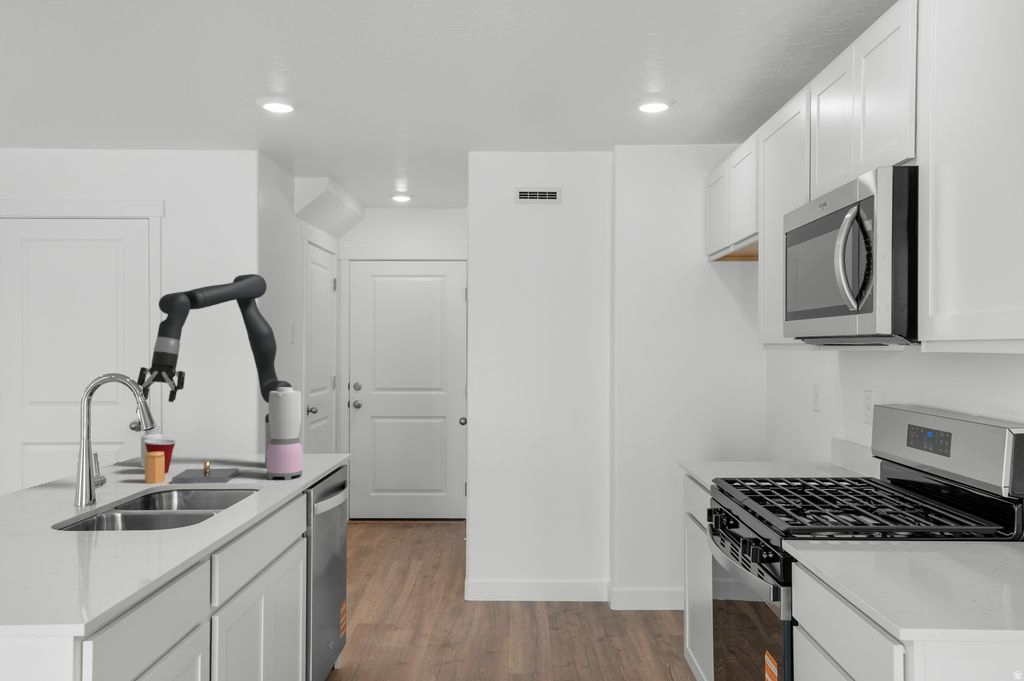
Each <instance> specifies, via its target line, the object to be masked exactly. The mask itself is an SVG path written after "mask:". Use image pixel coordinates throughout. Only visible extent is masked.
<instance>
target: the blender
mask: <svg viewBox="0 0 1024 681" xmlns="http://www.w3.org/2000/svg"><path fill="white" fill-rule="evenodd" d="M302 404H303V403H302V392H301V391H300V390H294V387H293V386H292V387H281V388H278V391H271V392H270V393H269V403H268V414H269V427H270V432H271V442H270V444H269V446H268V449H267V467H266V475H267V478H268V480H271V481H272V480H274V477H275V478H276V477H277V478H279V477H280V478H282V477H283V478H284V480H285V481H289V480H291V479H292V477H294V476H302V474H303V446H302V443H301V442H300V437H299V436H300V431H301V424H302V410H303V408H302Z"/></svg>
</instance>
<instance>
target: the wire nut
mask: <svg viewBox="0 0 1024 681" xmlns="http://www.w3.org/2000/svg"><path fill="white" fill-rule="evenodd" d="M165 475H166V473H165V456H164V452H161V451H155V452H147V453H145V467H144V483H145V484H159V483H160V484H161V483H164V482H165Z"/></svg>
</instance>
